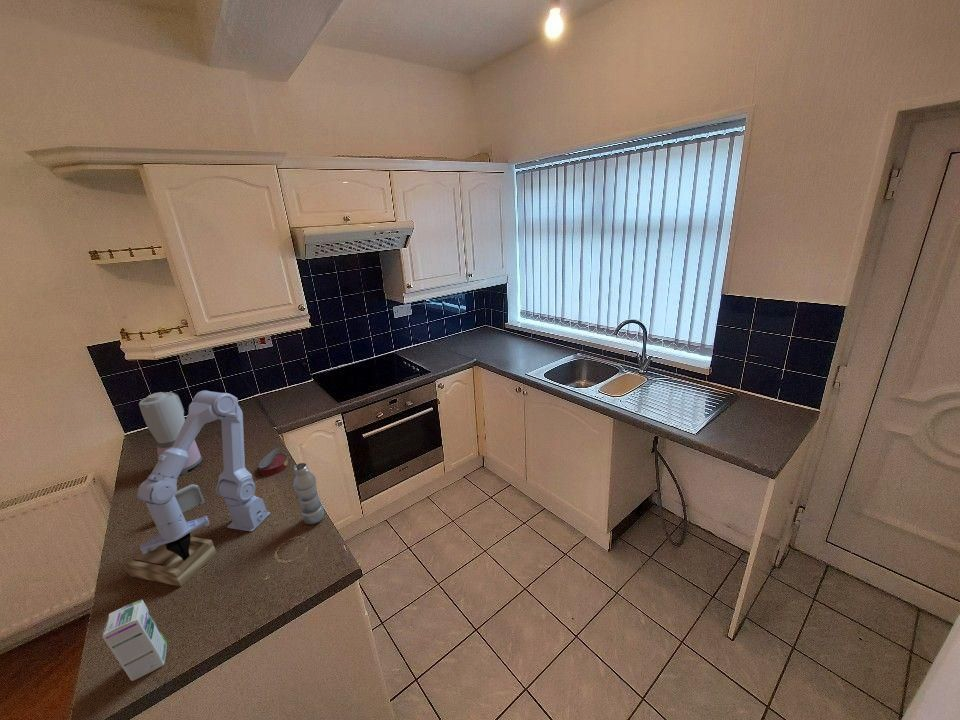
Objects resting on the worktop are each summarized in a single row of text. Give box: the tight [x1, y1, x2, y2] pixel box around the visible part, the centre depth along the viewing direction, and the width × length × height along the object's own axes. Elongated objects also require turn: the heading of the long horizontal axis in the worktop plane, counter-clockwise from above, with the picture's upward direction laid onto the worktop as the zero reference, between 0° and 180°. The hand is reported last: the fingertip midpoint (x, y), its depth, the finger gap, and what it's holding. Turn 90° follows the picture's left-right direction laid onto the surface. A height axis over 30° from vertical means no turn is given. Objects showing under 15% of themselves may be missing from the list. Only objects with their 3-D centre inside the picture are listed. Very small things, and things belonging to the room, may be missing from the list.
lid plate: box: [133, 544, 178, 567], centre depth 108 cm, size 10×7×2 cm
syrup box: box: [102, 599, 168, 682], centre depth 81 cm, size 6×6×14 cm
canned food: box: [258, 446, 289, 477], centre depth 148 cm, size 11×10×10 cm
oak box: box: [123, 536, 218, 587], centre depth 108 cm, size 18×11×5 cm, turn 76°
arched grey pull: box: [175, 483, 206, 513], centre depth 128 cm, size 2×12×8 cm, turn 141°
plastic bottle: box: [292, 462, 325, 525], centre depth 118 cm, size 6×7×20 cm
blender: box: [138, 391, 203, 476], centre depth 150 cm, size 16×12×32 cm
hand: (186, 557), depth 106 cm, fingers closed
